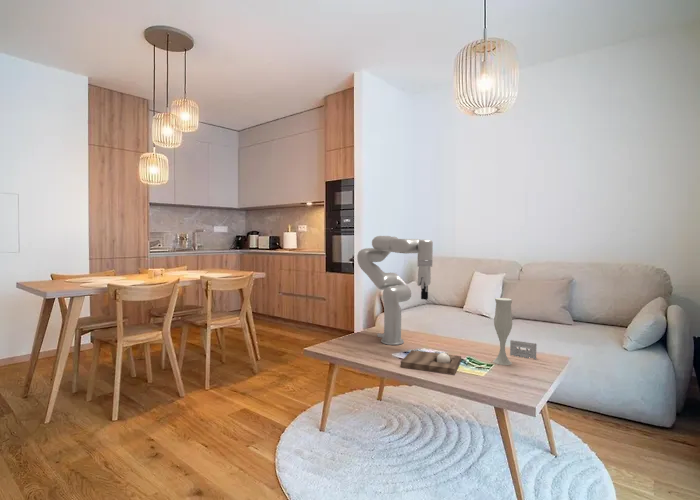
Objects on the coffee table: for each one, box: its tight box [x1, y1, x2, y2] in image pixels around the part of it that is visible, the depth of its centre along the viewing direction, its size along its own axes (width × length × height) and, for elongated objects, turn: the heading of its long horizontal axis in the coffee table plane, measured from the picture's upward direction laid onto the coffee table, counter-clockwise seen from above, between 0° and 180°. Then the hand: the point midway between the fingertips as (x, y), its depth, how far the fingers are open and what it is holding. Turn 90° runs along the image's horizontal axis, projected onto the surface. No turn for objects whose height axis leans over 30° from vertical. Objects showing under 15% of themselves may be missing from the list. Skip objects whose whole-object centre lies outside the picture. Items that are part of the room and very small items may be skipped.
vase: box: [492, 297, 513, 366], centre depth 186 cm, size 9×8×30 cm
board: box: [400, 349, 462, 376], centre depth 183 cm, size 24×20×2 cm
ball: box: [437, 352, 450, 363], centre depth 181 cm, size 6×6×6 cm
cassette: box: [509, 339, 538, 360], centre depth 195 cm, size 12×2×8 cm, turn 56°
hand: (424, 299), depth 203 cm, fingers closed
